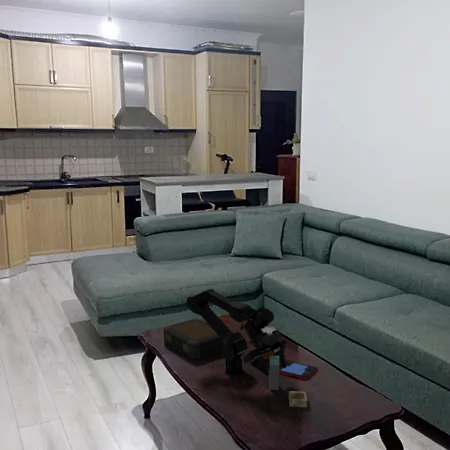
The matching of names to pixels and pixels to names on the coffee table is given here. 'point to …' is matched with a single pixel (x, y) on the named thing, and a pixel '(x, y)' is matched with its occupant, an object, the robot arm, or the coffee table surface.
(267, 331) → the disposable coffee cup
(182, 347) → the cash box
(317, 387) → the coffee table surface
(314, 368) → the game console
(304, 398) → the open wooden box
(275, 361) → the teal-topped square pillar
